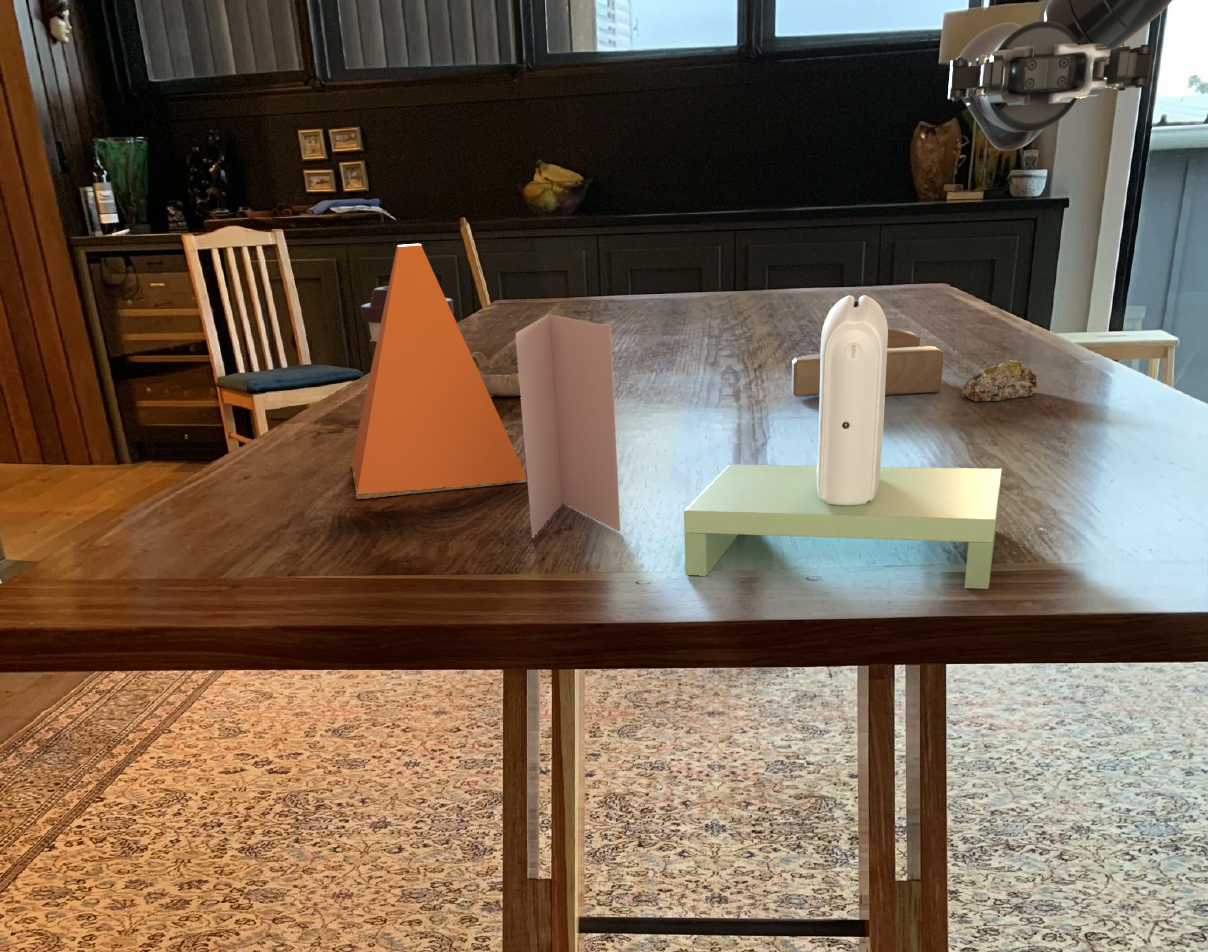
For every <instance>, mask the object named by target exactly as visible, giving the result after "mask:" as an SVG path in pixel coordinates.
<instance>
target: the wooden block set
mask: <svg viewBox="0 0 1208 952" xmlns="http://www.w3.org/2000/svg"><path fill="white" fill-rule="evenodd" d="M920 344H921V337H920V336H919V335H917V334H916V333H914V332H912V331H909V330H899V329H889V328H888V342H887V361H886V382H885V396H897V395H914V394H917V395H918V394H932V393H934V394H935V393H939V392H940V391H941V389H942V380H943V366H944V351H943V350H941V349H939V348H937V347H936V346H933V345H926V346H924V345H923V346H921V345H920ZM820 361H821V357H820V353H813V354H807V355H801V356H798V357H795V358H793V360H792V361H791V393H792V395H794V396H795V397H796V398H799V397H800V398H802V397H817V396H819V397H820Z"/></svg>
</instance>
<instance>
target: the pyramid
mask: <svg viewBox="0 0 1208 952" xmlns="http://www.w3.org/2000/svg"><path fill="white" fill-rule="evenodd" d="M388 286H389V287H388V292H387V296H386V301H385V306H384V311H383V315H382V320H381V325H380V330H379V334H378V339H377V344H376V349H375V353H374V358H372V362H371V367H370V373H369V377H368V382H367V386H366V391H365V392H366V393H365V397H364V401H363V407H362V410H361V415H360V421H359V424H358V430H357V435H356V439H355V444H354V450H353V453H352V458H353V461H354V469H355V479H356V487H357V494H365V493H379V492H389V491H404V490H422V489H431V488H442V487H462V486H472V485H477V484H485V483H501V482H507V481H515V480H521V481H522V480H527V479H526V471H525V470H524V468H523V465H522V463H521V461H520V459H519V457H518V455H517V453H516V450H515V448H514V446H513V443H512V442H511V439H510V437H509V434H508V433H507V431H506V428H505V426H504V424H503V421H502V419H501V417H500V415H499V413H498V411H497V408H496V406H495V404H494V402H493V399H492V398H491V397H492V396H490V395H489V393H488V391H487V389H486V386H485V384H484V382H483V380H482V378H481V375H480V373H479V371H478V367H477V364H476V365H475V362H474V360H473V358H472V356H471V351H470V349H469V346H468V345H467V343H466V341H465V339H464V336H463V334H462V331H461V330H460V328H459V325H458V323H457V320H456V319H455V316H454V314H452V312H451V310H450V307H449V305H448V303H447V301H446V299H445V298H446V297H445V294H444V291H443V290H442V288H441V286H440V284H439V281H438V279H437V276H436V275H435V273H434V270H433V268H432V266H431V264H430V261H429V258H428V257H427V255H426V252H425V250H424V248H423V246H422V244H421V243H411V244H410V243H409V244H398V245H396V250H395V254H394V259H393V264H392V268H391V273H390V278H389V282H388Z"/></svg>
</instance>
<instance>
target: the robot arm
mask: <svg viewBox="0 0 1208 952" xmlns="http://www.w3.org/2000/svg"><path fill="white" fill-rule="evenodd" d="M1172 2H1173V0H1049V2H1048V3H1047V5H1046V7H1045V10H1044V13H1043V14H1044V15H1043V20H1040V21H1035V22H1030V23H1028V24H1025V25H1023V26H1022V25H1021V24H1019V23H1016V22H1012V21H1008V22H1007V21H1006V22H1001V23H998V24H995V25H993V26H991V27H988V28H986V29H984V30H983V31H981V32H980V33H978V34H977V35H976V36H975V37H974V38H973V39H971V40H970V41H969V42H968V43H967V44H966V46H965V47H964V48H963V50H962V51H961V52H960V54H959V55H958V57H956V58H955V59H952V60H950V64H949V65H950V66H949V69H950V70H949V80H948V93H947V94H948V95H947V100H949V101H950V100H952V102H960V100H961V101H962V102H963V104H965V106H966V107H967V109H968V111H969V113H971V116H972V117H973V118H974V121H975V122H976V123H977V125H978V126H979V128H980V129H981V131H982V133H983V134H984V136H985V137H986V138H987V140H988V141H989V143H990V144H991V146H993V148H995V149H996V150H998V151H1003V152H1010V151H1016V150H1019V149H1022V148H1023V147H1026V146H1027V145H1029V144H1030V143H1032V142H1033V141H1034V140H1035V139H1036V138H1037V137H1038V136H1039V135H1040V134H1041V133H1042V132H1043V131H1044V129H1046V128H1048V127H1051V126H1053V125H1054V124H1055V123H1057V122H1059V121H1060V120H1061V119H1063V117H1064V116H1066V114H1068V113H1069V111H1070V110H1072V108H1073V107H1074V105H1075V104H1076V103H1077V101H1078V99H1083V98H1092V97H1099V96H1100V95H1101V94H1102V92H1103V90H1104V89H1108V88H1110V89H1111V90H1117V91H1119V92H1123V91H1126V89H1131V88H1135V89H1141V88H1143V86H1144V87H1145V86H1149V78H1150V71H1151V65H1152V57H1153V50H1154V46H1153V45H1149V44H1140V46H1139V47H1138V46H1137V47H1133V48H1131V46H1130V45H1128V46H1127V45H1126V46H1125V45H1124V44H1125V43H1126V42H1127V41H1128V40H1130V39H1131V38H1132V37H1134V36H1136V34H1137V33H1138V32H1140V31H1141V30H1142V29H1144V28H1145V27H1147V25H1149V24H1150V23H1151V22H1152V21H1153V20H1154V19H1156V18H1157V17H1158V16H1159V15H1160V14H1161V13H1162V12H1164V11H1165V10H1166V8H1167V7H1168V6H1169V5H1170V4H1171V3H1172ZM1107 59H1108V63H1106V61H1107Z"/></svg>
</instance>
